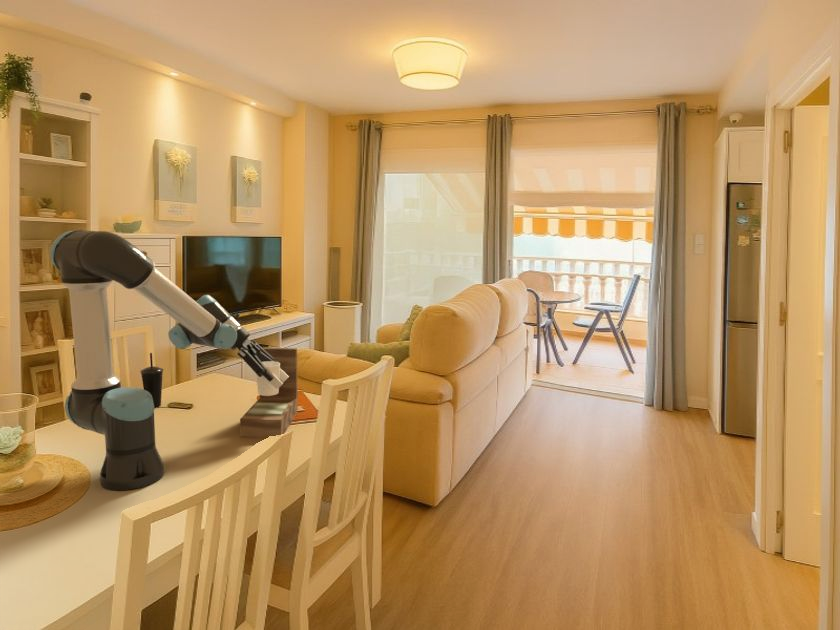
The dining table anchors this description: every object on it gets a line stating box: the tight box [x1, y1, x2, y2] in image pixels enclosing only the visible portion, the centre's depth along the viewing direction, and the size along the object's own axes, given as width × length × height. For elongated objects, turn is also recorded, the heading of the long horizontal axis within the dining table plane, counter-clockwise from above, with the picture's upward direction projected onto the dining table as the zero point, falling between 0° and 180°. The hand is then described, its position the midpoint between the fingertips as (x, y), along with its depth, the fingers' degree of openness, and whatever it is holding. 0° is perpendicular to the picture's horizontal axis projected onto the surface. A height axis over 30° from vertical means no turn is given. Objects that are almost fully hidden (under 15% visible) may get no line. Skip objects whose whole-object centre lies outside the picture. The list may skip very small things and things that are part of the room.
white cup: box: [255, 361, 280, 396], centre depth 185 cm, size 8×8×10 cm
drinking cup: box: [139, 352, 164, 409], centre depth 203 cm, size 8×8×20 cm
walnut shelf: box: [239, 347, 299, 439], centre depth 187 cm, size 24×13×24 cm, turn 0°
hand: (283, 382), depth 185 cm, fingers closed on white cup, 7 cm apart
